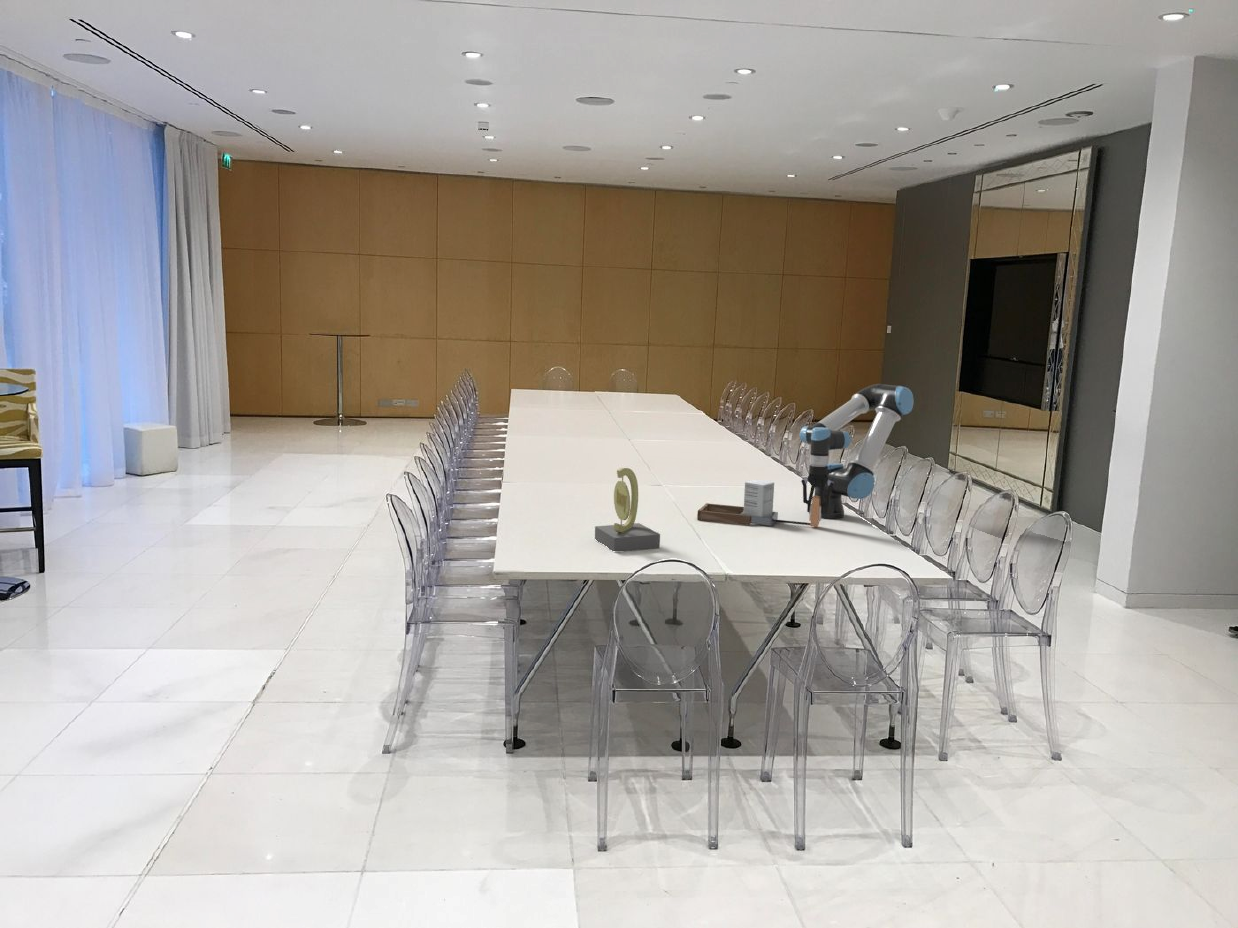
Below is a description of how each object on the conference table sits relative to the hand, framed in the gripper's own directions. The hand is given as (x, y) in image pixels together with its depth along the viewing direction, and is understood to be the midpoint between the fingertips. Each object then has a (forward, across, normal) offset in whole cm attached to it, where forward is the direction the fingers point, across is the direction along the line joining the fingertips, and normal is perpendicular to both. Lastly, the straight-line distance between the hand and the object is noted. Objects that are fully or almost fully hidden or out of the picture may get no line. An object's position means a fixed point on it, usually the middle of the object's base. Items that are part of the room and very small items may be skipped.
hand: (815, 520), depth 416 cm
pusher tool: (+2, -15, 0) cm, 15 cm away
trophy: (+3, -63, -60) cm, 87 cm away
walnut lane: (+3, -37, 0) cm, 37 cm away
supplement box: (+3, -24, 0) cm, 24 cm away
